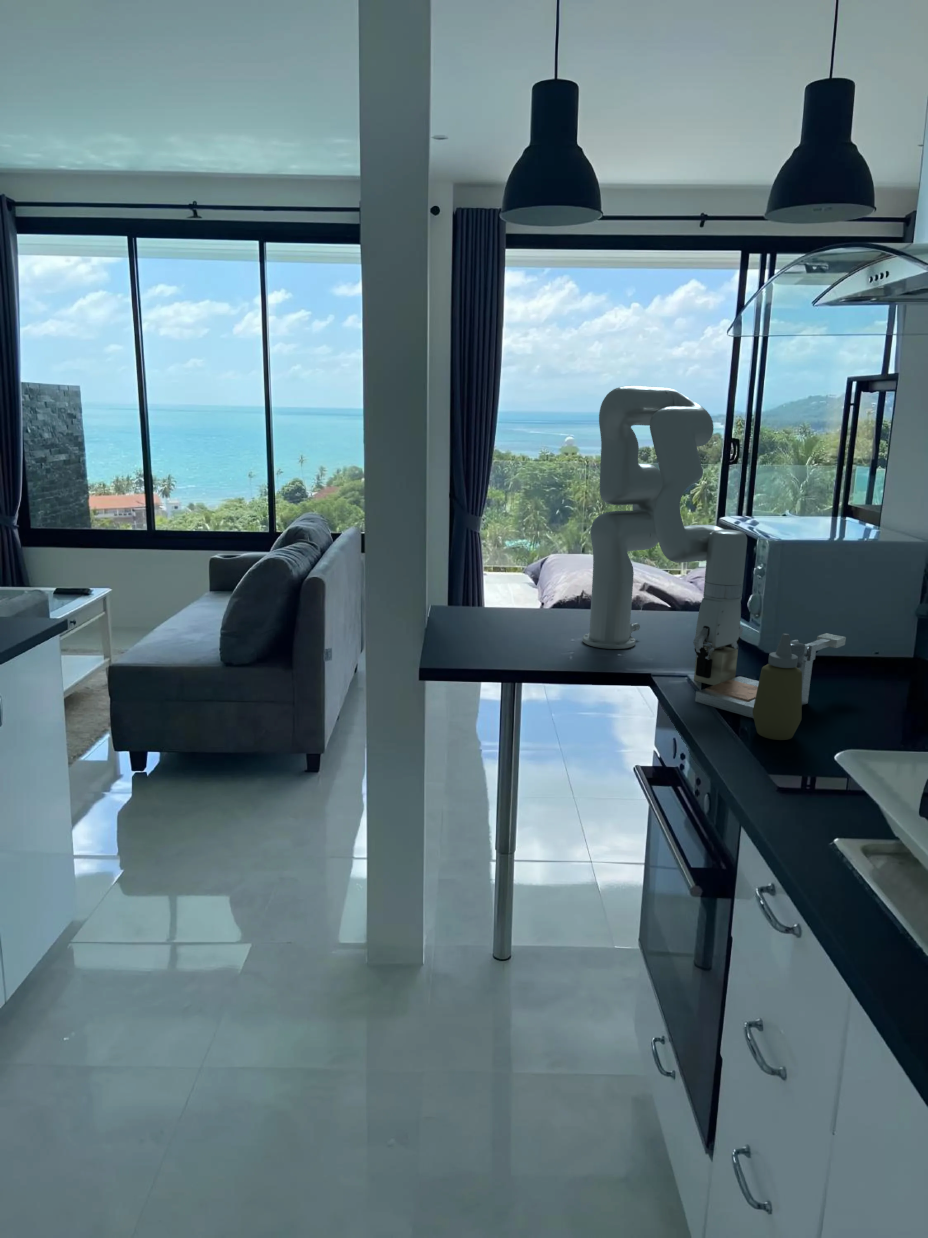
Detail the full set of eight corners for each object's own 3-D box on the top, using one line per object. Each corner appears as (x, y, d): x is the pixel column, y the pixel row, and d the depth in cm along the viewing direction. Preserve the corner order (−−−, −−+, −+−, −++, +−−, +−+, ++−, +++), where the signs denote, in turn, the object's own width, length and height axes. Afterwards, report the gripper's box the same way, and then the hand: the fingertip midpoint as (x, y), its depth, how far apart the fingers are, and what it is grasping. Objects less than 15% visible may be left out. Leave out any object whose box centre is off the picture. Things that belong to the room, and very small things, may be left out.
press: (739, 685, 178) (745, 628, 175) (810, 703, 167) (817, 643, 165) (695, 701, 167) (700, 641, 164) (768, 722, 156) (775, 658, 154)
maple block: (709, 675, 185) (712, 643, 183) (734, 681, 181) (738, 649, 179) (693, 680, 181) (696, 647, 179) (719, 687, 177) (722, 654, 175)
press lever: (823, 646, 177) (826, 627, 176) (845, 650, 174) (847, 631, 173) (773, 664, 163) (775, 643, 162) (795, 669, 160) (798, 648, 159)
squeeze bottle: (768, 745, 145) (780, 641, 141) (740, 728, 153) (751, 629, 149) (809, 741, 148) (822, 639, 143) (780, 725, 155) (791, 627, 151)
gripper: (728, 583, 185) (721, 661, 189) (682, 593, 173) (676, 676, 177) (761, 589, 179) (753, 669, 183) (716, 599, 168) (708, 684, 172)
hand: (715, 672), depth 180 cm, fingers open, 8 cm apart
